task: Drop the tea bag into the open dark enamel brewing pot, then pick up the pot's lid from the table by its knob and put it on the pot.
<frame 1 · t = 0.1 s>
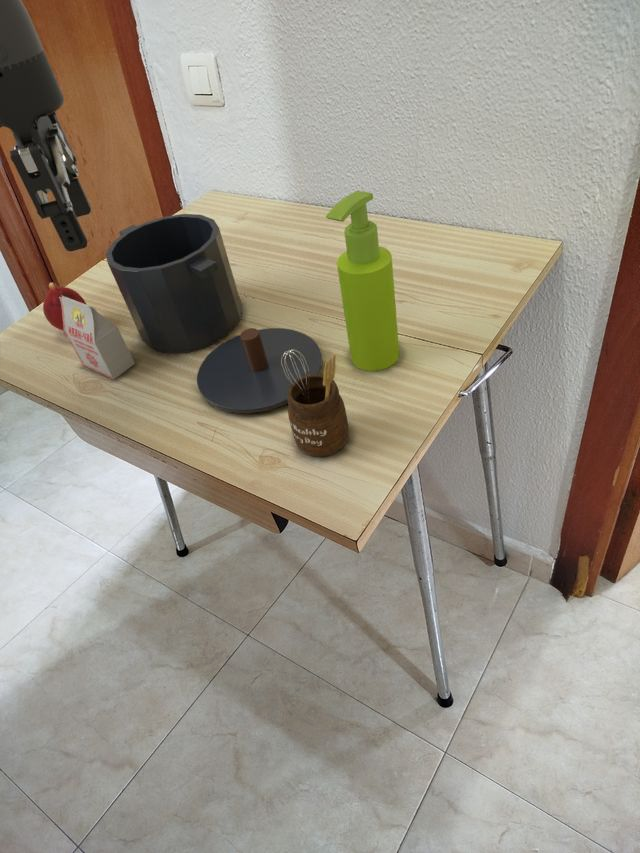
hand: (80, 230, 62), 20 cm above the table, tool pointing down, fingers open, 8 cm apart
soap dispenser: (372, 359, 72), on the table
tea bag: (109, 365, 80), on the table
lid: (259, 369, 73), point 1 cm above the table
utensil holder: (323, 440, 63), on the table
pot: (192, 321, 84), on the table
onion: (77, 331, 87), on the table
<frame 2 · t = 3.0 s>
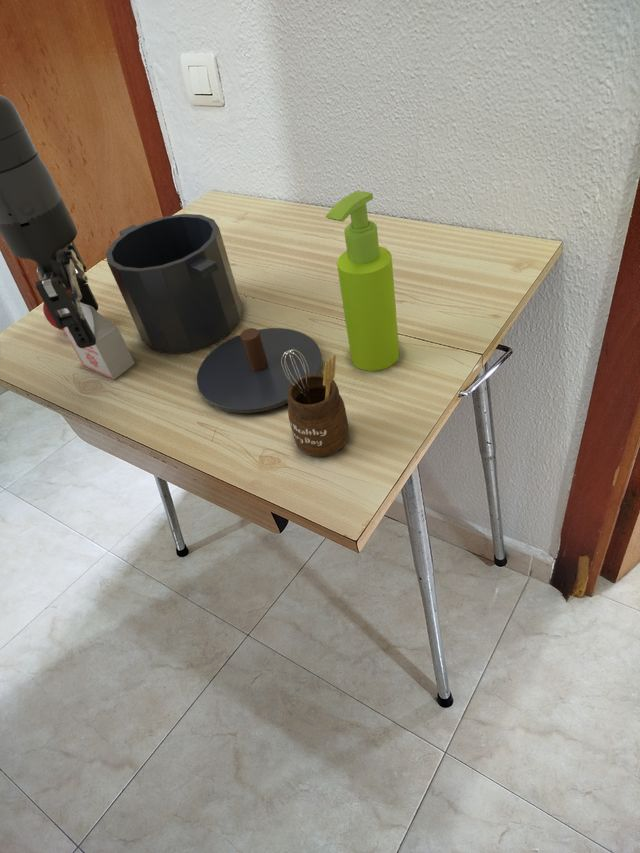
hand: (89, 327, 75), 6 cm above the table, tool pointing down, fingers closed on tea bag, 7 cm apart
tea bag: (109, 365, 80), on the table, touching gripper
everything else where it was.
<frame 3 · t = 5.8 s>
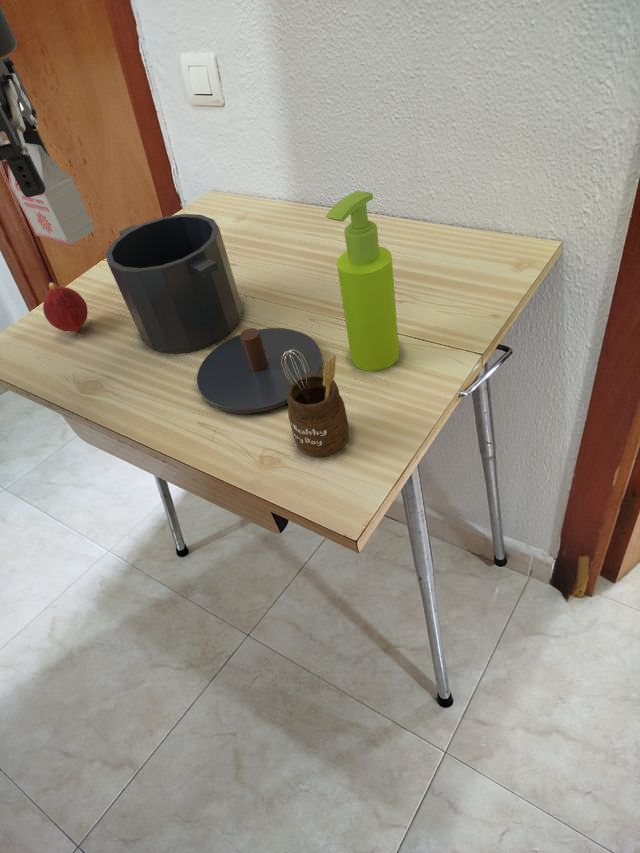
hand: (40, 180, 64), 24 cm above the table, tool pointing down, fingers closed on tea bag, 7 cm apart
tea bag: (66, 234, 68), point 18 cm above the table, touching gripper
everything else where it was.
when the fingers open (20 cm above the table, at t = 8.8 s): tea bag drops 13 cm, resting on pot.
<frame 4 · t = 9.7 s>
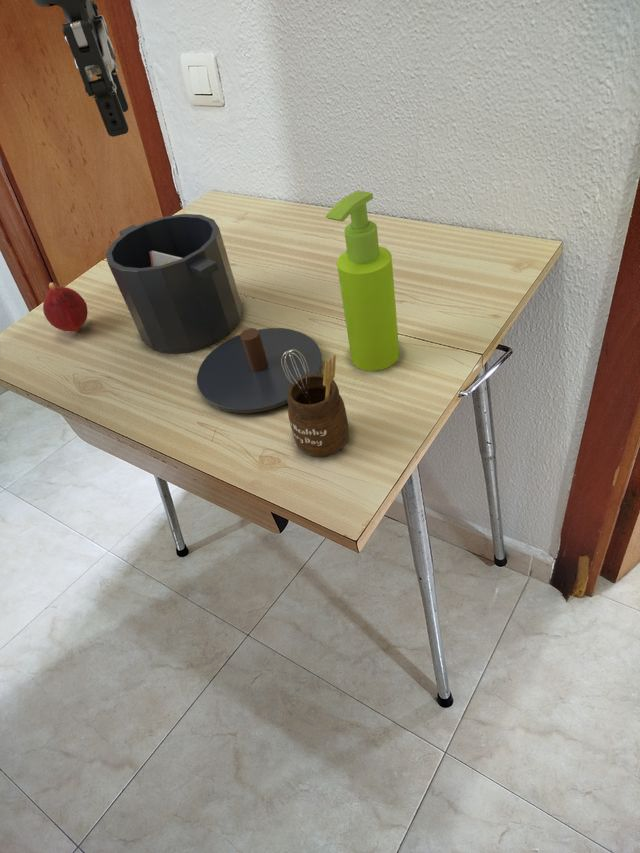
hand: (119, 122, 65), 27 cm above the table, tool pointing down, fingers open, 8 cm apart
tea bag: (191, 320, 84), resting on pot
everything else where it was.
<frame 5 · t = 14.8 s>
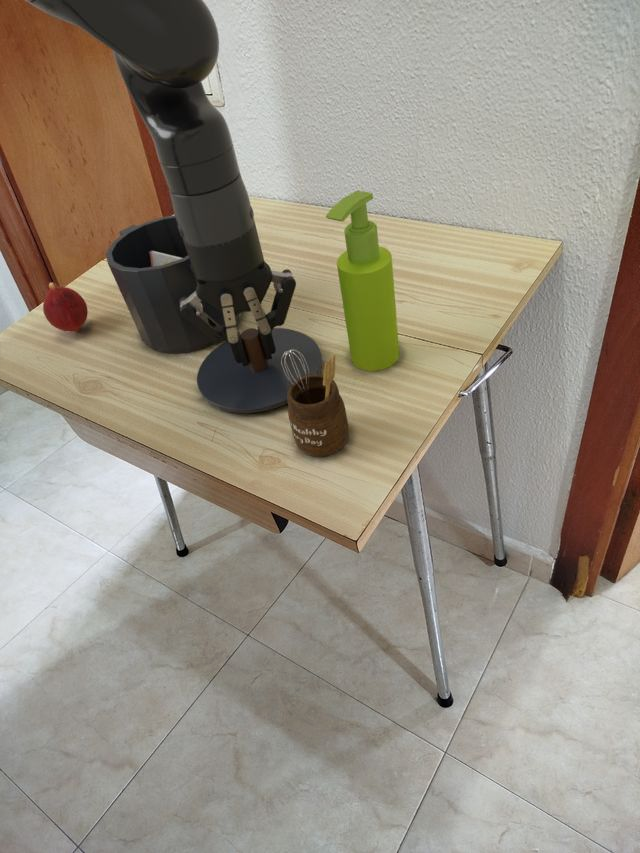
hand: (256, 358, 71), 2 cm above the table, tool pointing down, fingers closed on lid, 2 cm apart
lid: (259, 369, 73), point 1 cm above the table, touching gripper
everything else where it was.
when the fingers open (17 cm above the table, at t = 21.0 s): lid drops 1 cm, resting on pot.
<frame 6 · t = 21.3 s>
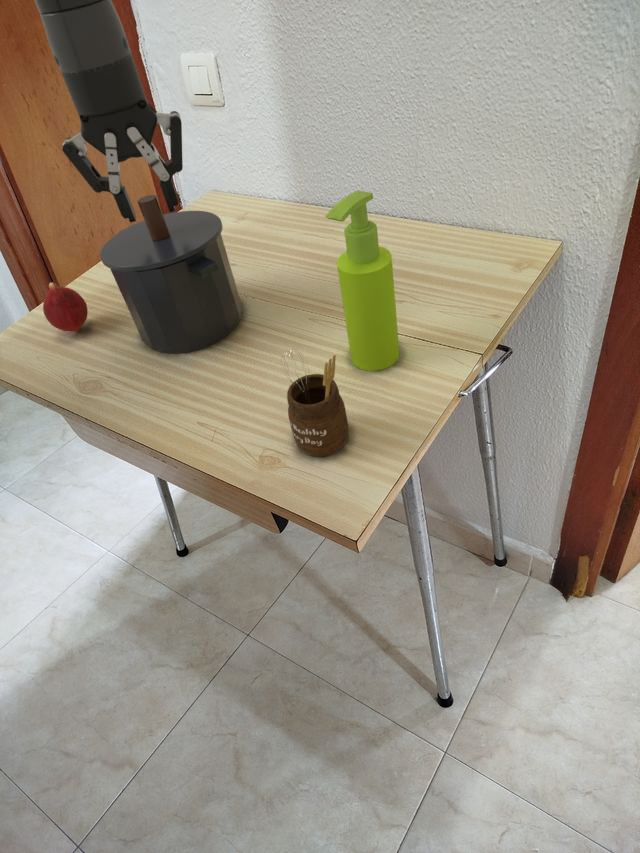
hand: (152, 213, 73), 16 cm above the table, tool pointing down, fingers open, 4 cm apart
lid: (162, 241, 74), point 13 cm above the table, touching pot
everything else where it was.
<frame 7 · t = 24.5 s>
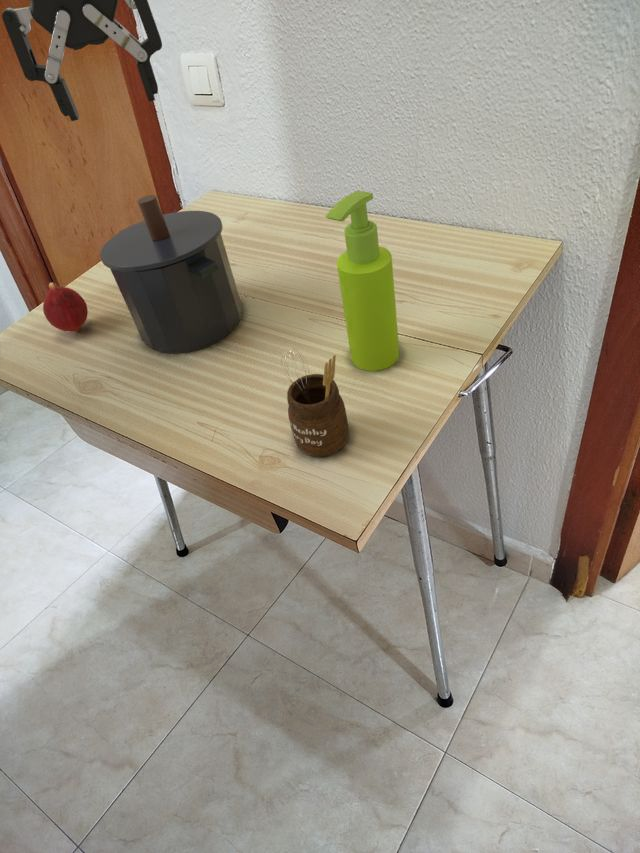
hand: (113, 109, 64), 28 cm above the table, tool pointing down, fingers open, 8 cm apart
nothing on the table moved.
at the end: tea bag inside the target area in the pot (0.1 cm from its centre), point 0.3 cm above the pot's base; lid 1.2 cm off-centre on the pot, point 12.9 cm above the pot's base; lid tilted 3° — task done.
